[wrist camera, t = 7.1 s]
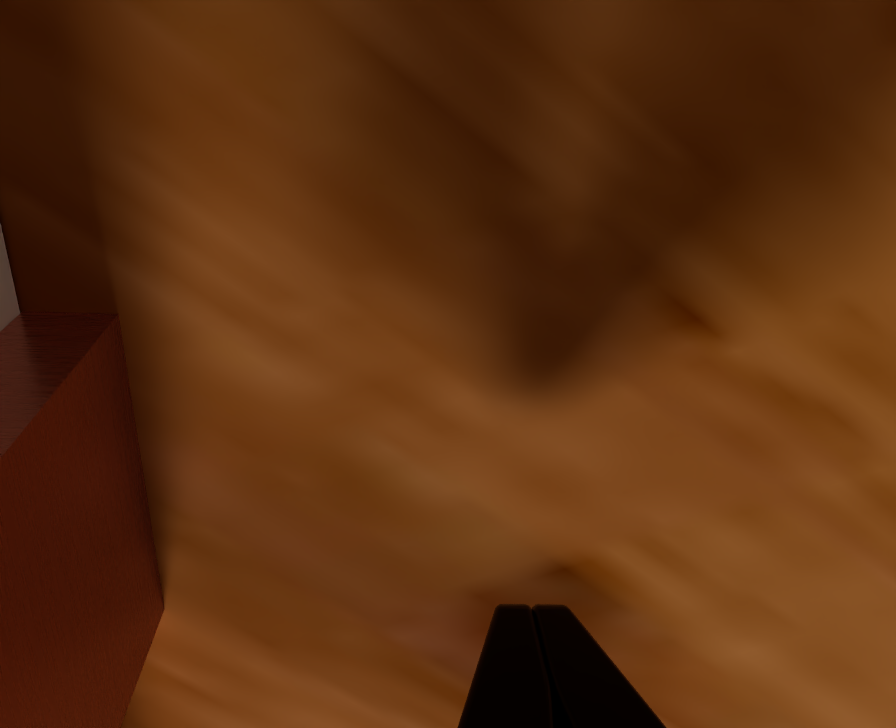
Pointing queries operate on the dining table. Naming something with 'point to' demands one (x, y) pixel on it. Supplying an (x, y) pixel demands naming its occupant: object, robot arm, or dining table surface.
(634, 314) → the dining table surface
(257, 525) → the dining table surface
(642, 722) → the robot arm
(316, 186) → the dining table surface
